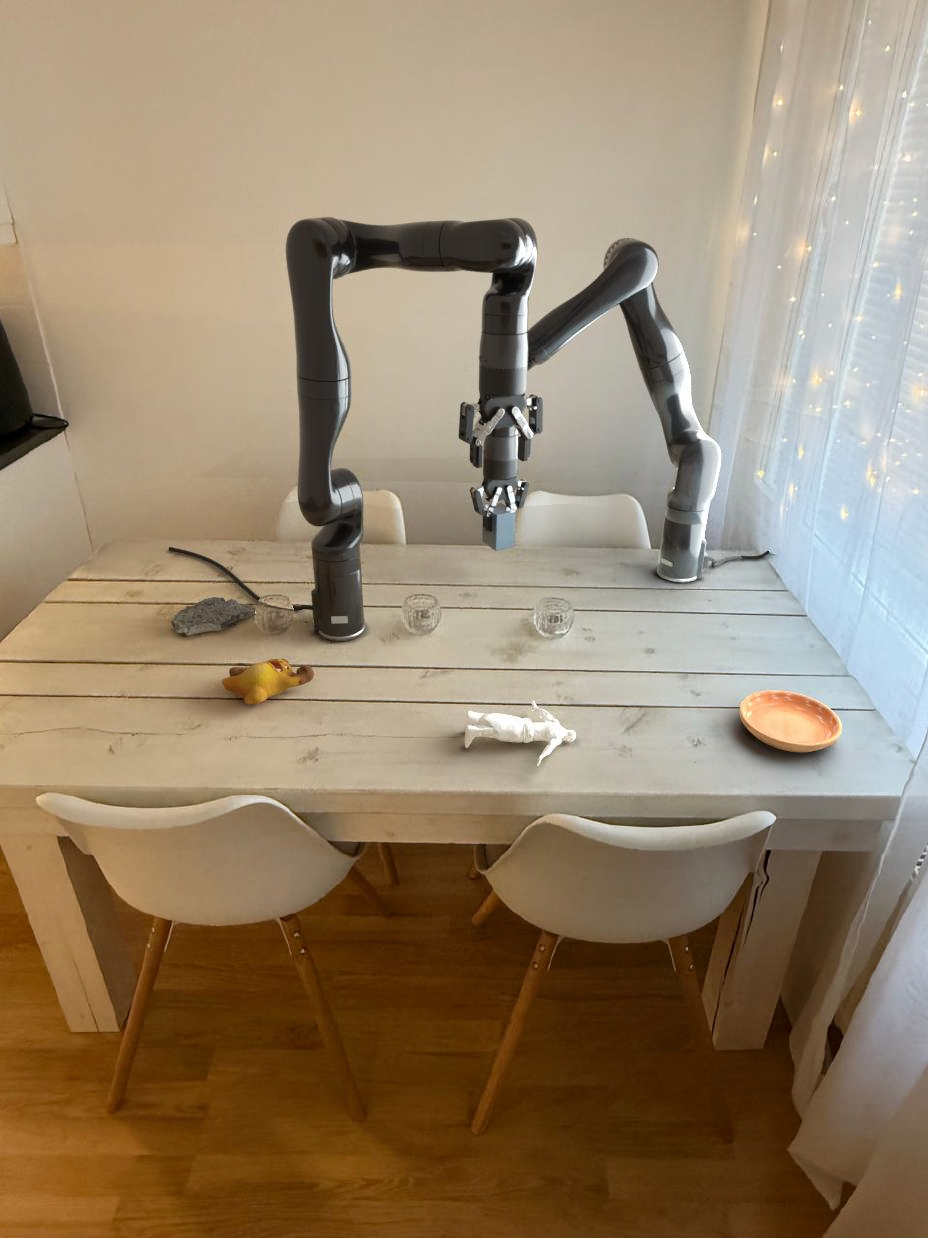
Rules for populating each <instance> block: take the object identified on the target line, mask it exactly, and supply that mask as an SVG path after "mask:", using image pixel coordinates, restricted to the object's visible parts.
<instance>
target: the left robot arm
mask: <svg viewBox="0 0 928 1238" xmlns="http://www.w3.org/2000/svg"><path fill="white" fill-rule="evenodd" d="M536 234H537V233H536V231H535V230H534V228H533V226H532V225H531V224H530V223H529V222H528V221H527V220H525V219H524V218H521V217H506V218H495V219H484V220H473V221H472V220H471V221H463V220H448V219H447V220H425V221H424V220H423V221H413V222H405V223H398V224H397V223H396V224H369V223H362V222H356V221H352V220H351V221H350V220H346V219H342V218H341V219H340V218H335V217H333V216H321V217H320V216H319V217H309V218H303V219H300V220H297V221H296V222H294V224H293V225H291V227H290V229H289V230H288V233H287V236H286V239H285V261H286V262H285V263H286V269H287V276H288V283H289V289H290V297H291V302H292V303H291V304H292V313H293V325H294V327H293V328H294V340H295V342H294V343H295V357H296V359H295V360H296V364H295V365H296V366H295V367H296V368H295V369H296V370H295V371H296V391H297V405H298V427H299V428H298V430H299V431H298V432H299V451H298V452H299V453H298V470H297V486H296V487H297V490H296V491H297V502H298V506H299V510H300V513H301V514H302V515H301V516H302V517H303V518H304V520H305V521H306V522H307V523H308V524H310V525H311V526H312V527H313V526H314V527H321V528H320V530H319V531H318V532H317V533H316V534H315V535H314V536H313V538H312V540H311V544H310V545H311V557H312V568H313V581H314V588H313V589H312V590H311V591H310V597H311V604H303V605H302V604H301V605H292V606H293V608H294V610H293V611H300V612H301V611H303V610H305V611H306V610H307V611H312V620H313V629H314V634H315V635H318V636H320V637H321V638H323V639H325V640H328V641H331V642H332V641H333V642H345V641H346V642H347V641H351V640H355V639H358V638H359V637H360V636H362V635H363V634H364V633H365V631H366V623H365V613H364V612H365V610H364V594H363V593H364V592H363V575H362V574H363V573H362V560H361V544H362V542H363V539H364V494H363V489H362V485H361V483H360V480H359V479H358V477H357V475H356V474H355V473H354V472H352V471H351V470H350V469H348V468H346V467H336V468H332V462H333V461H332V460H333V454H334V449H335V446H336V443H337V441H338V439H339V436H340V434H341V432H342V430H343V427H344V425H345V423H346V420H347V418H348V415H349V411H350V408H351V405H352V367H351V361H350V357H349V354H348V351H347V349H346V346H345V344H344V342H343V340H342V338H341V335H340V333H339V330H338V327H337V325H336V321H335V316H334V307H333V306H334V304H333V302H334V301H333V299H334V298H333V286H334V285H333V284H334V280H338V279H341V278H343V277H345V276H347V275H351V274H355V273H359V272H363V271H368V270H374V269H396V270H404V271H408V272H409V271H410V272H418V273H419V272H420V273H454V272H456V273H457V272H462V271H464V272H473V273H483V274H491V280H490V281H491V282H490V286H489V288H488V290H487V291H486V292H485V293H484V295H483V297H482V301H481V302H482V303H481V333H480V340H479V348H478V349H479V354H478V394H479V399H478V400H477V403H474V402H473V403H468V402H466V401H462V402H461V403H460V405H459V406H460V408H459V421H458V422H459V423H458V439H459V440H461V441H462V442H464V443H466V444H468V445H469V462H470V464H472V466H473V467H474V468H476V469H481V468H482V469H483V445H482V444H484V439H485V438H486V436H487V435H489V434H490V433H491V432H492V430H493V429H494V428H495V429H500V428H503V427H513V426H514V427H515V428H516V429H517V431H518V435H520V436H518V454H517V457H518V459H519V460H518V461H521V462H528V460H529V458H530V457H531V449H532V439H533V437H534V436H536V435H537V434H538V435H540V434H542V433H543V430H544V399H543V398H542V397H541V396H538V395H536V394H534V393H531V394H529V396H527V397H526V393H527V388H528V371H527V368H528V336H527V331H528V330H529V328H528V327H529V325H528V324H529V300H530V294H531V291H532V287H533V283H534V278H535V273H536V268H537V267H536V266H537V262H538V238H537V235H536ZM526 408H527V409H528V422H527V421H526V419H525V417H524V416H523V412H524V411H525V410H526ZM477 413H479V415H480V416H479V417H478V419H477V420H476V422H475V421H474V420H475V419H474V418H476V417H477ZM474 422H475V424H474ZM485 423H486V425H485ZM168 551H169V552H173V553H178V554H182V555H186V556H190V557H193V558H196V559H199V560H202V561H205V562H207V563H208V564H211V565H213V566H214V567H217V568H218V569H219V570H222V571H223V572H224V573H225V574H226V575H228V576H229V577H230V578H231V579H232V580H233V581H234V582H235V583H236V584H237V585H238V586H239V587H241V588H242V590H244V591H245V592H246V593H247V594H248V595H249V596H251V597H252V599H254V600H256V601H257V602H259V601H258V600H259V599H260V598H262V597H261V596H259V595H257V594H256V593H255V592H254V591H253V590H252V589H251V588H250V587H248V586H247V585H246V584H245V583H244V582H243V581H242V580H241V579H240V578H238V577H237V575H235V574H234V573H233V572H232V571H230V570H229V569H228V568H227V567H225V566H224V565H222V564H221V563H219V562H218V561H216V560H214V559H211V558H210V557H207V556H204V555H202V554H199V553H196V552H193V551H190V550H186V549H181V548H177V547H173V546H169V547H168Z"/></svg>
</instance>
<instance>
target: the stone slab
mask: <svg viewBox="0 0 928 1238" xmlns="http://www.w3.org/2000/svg"><path fill="white" fill-rule="evenodd" d="M255 610H256V607H255V606H253V605H252V604H246V603H243V604H241V603H239V601H237V600H236V599H232V598H231V599H228V600H226V599H225V598H224V597H217V596H212V597H208V598H203V600H200V601H198V602H196V603H195V604H193V605H186V606H185V607H184V608H183V609H180V610H179V611H178V612H177V613H176V614H174V615H173V617H172V619H171V621H170V623H171V626H173V629H174V633H177V634H182V635H184V636H186V637H187V636H194V635H197V634H201V633H207V632H216V631H218V632H219V631H222V630H224V629H225V628H227V627H228V626H229V625H230V624H232V623H233V622H236V621H239V620H245V619H246V618H248V617H252V616H255V615H256V614H255Z"/></svg>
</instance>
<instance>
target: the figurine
mask: <svg viewBox="0 0 928 1238" xmlns="http://www.w3.org/2000/svg"><path fill="white" fill-rule="evenodd" d="M529 707H530V708H531V711H530V713H532V712H535V713H536V714H537V716H538V717H539V719H541V720H543V721H544V722H532V720H531V719H530V718H528V717H522V718H521V717H518V716H514V715H510V714H504V713H496V712H495V713H493V712H490V714H489V713H487V714H486V713H482V712H475V711H472V710H471V711H470V710H468V711H467V712H466V719H465V724H464V732H465V734H464V747H465V748H466V749H468V748H469V747H470V745H471V744H472V742H473V740H474V739H475V738H482V737H483V738H484V737H485V738H492V739H495V740H498V741H499V742H509V743H522V742H523V743H525V744H530V743H531V742H533V741H544V742H547V743H548V744H547V745H546V746H545V748H544V749H543V751H542V752H541V754H540V755H539V757H538V758H537V762H536V767H539V766H540V765H541V761H542V760H543V758H545V757H547V756H549V755H550V754H551V753H552V751H553V750H554V749H555V748H556V747H557V746H559V745H561V744H562V742H563V741H565V742H570V743H571V742H574V740H575V739H576V738H577V737H576V736H577V734H576V732H575V730H574V729H565V727H563V726H561V725H560V722H559V720H558V719H557V718H554V717H553V715H552V714H550V713H549V712H548V711H547V710H545V709H543V708H541V707H538V706H537V703H535V700H534V699H533V700H532V702H531V705H530V706H529ZM476 725H477V726H484V727H477V726H476Z"/></svg>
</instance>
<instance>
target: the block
mask: <svg viewBox="0 0 928 1238" xmlns="http://www.w3.org/2000/svg"><path fill="white" fill-rule="evenodd" d="M516 512H517V511H516ZM516 512H515V511H513V510H512V509H510V508H509V507H507V506H506V504H505V503H502V502H497V504H496V507H494V509H493V512H492V515H491V516H492V532H487V531H486V530H485V529H484V528H483V527H482V530H481V531H482V533H481V534H482V535H481V541H482V543H484V544H485V545H486V546H488V547H489V548H491V549H492V550H493V551H494V552H499V551H504V550H510V549H514V548H515V536H516V534H515V533H516Z"/></svg>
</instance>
